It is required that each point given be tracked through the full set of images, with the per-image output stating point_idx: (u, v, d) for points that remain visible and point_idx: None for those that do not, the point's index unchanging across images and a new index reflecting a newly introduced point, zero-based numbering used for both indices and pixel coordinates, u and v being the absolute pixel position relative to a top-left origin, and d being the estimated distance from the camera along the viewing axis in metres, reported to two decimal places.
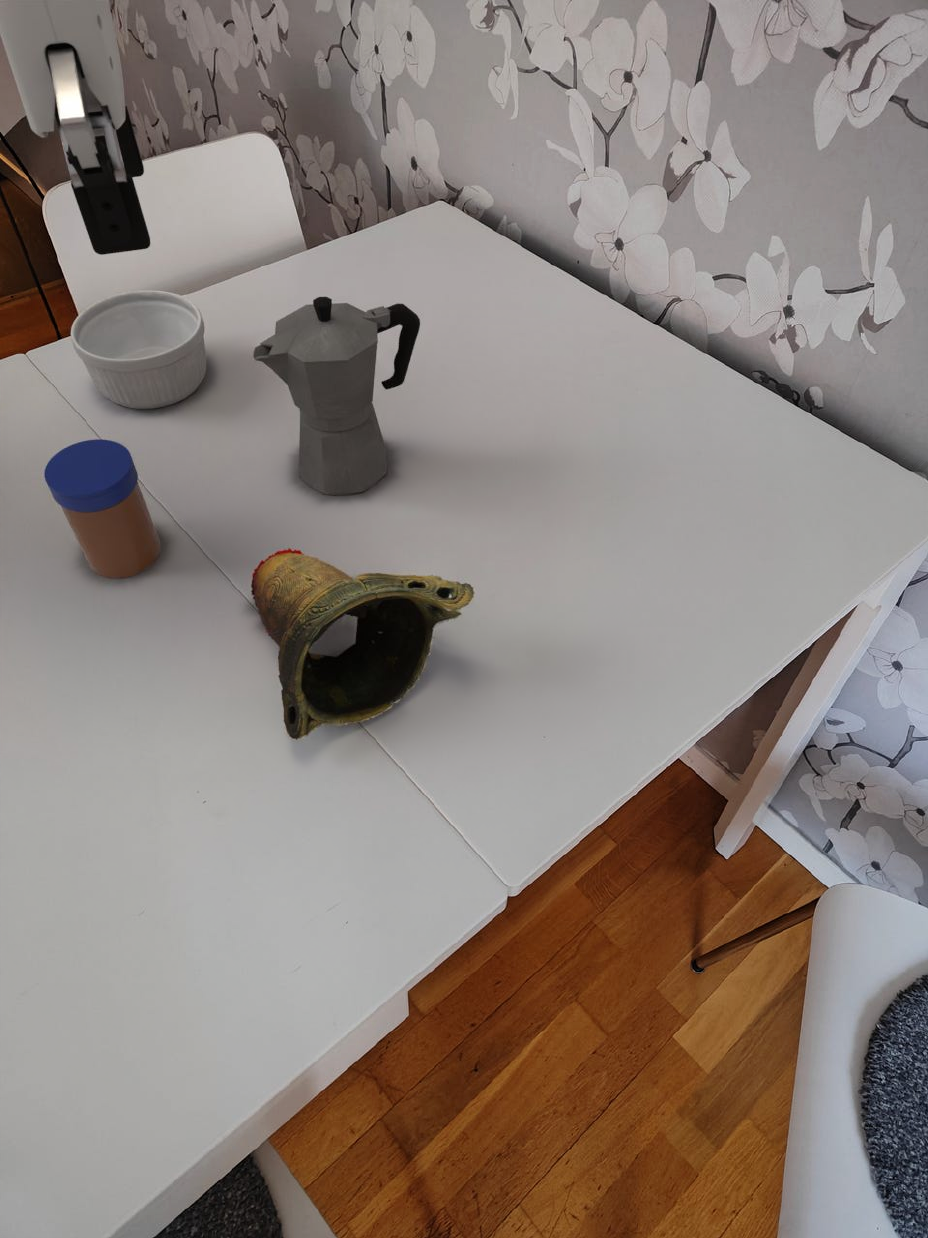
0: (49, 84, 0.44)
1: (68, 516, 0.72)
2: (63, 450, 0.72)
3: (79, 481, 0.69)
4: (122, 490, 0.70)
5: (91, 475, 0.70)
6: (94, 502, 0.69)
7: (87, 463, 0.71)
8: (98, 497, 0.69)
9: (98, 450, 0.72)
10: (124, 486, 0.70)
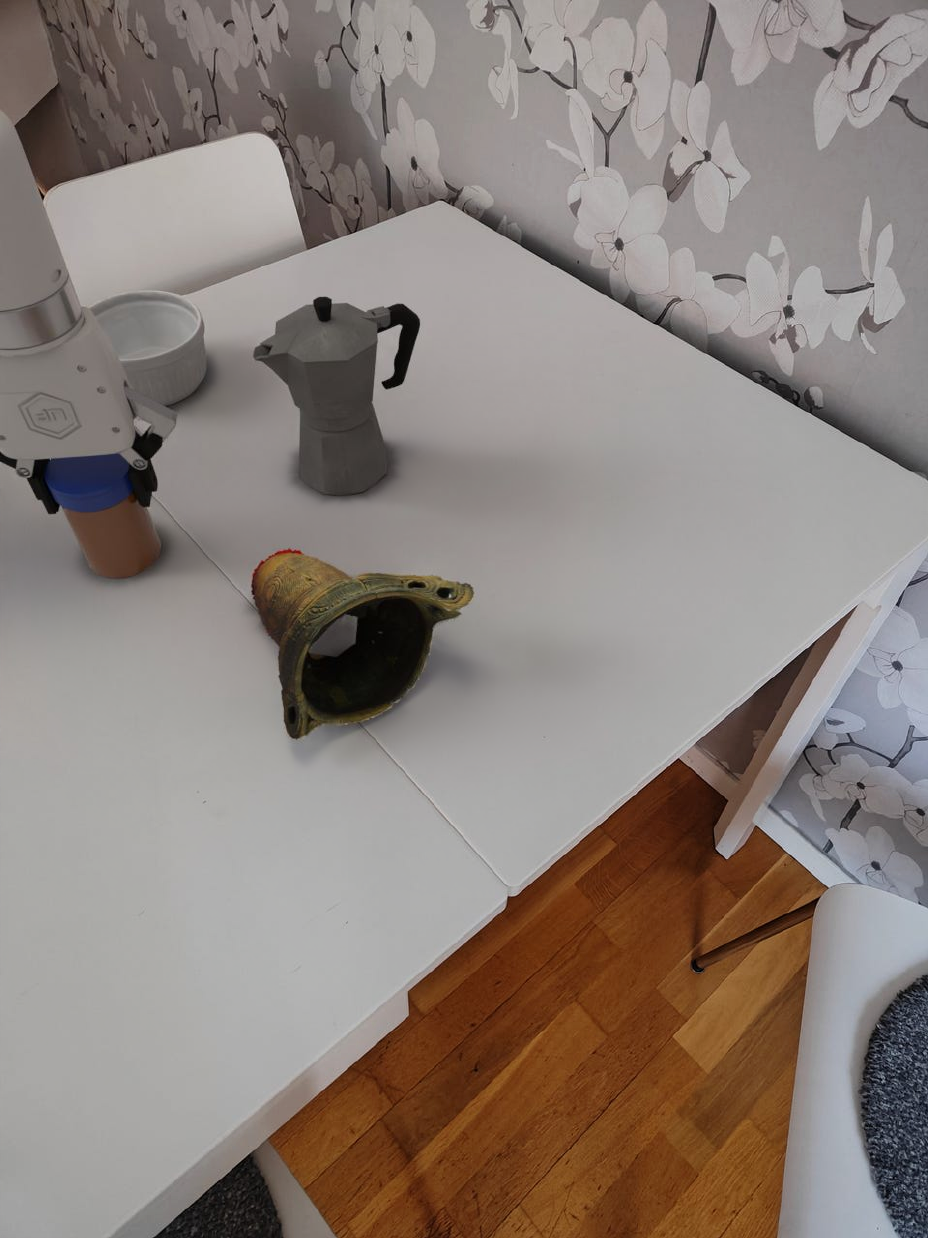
0: (130, 410, 0.66)
1: (68, 516, 0.72)
2: None
3: (79, 481, 0.69)
4: (122, 490, 0.70)
5: (91, 475, 0.70)
6: (94, 502, 0.69)
7: (87, 463, 0.71)
8: (98, 497, 0.69)
9: None
10: (124, 486, 0.70)
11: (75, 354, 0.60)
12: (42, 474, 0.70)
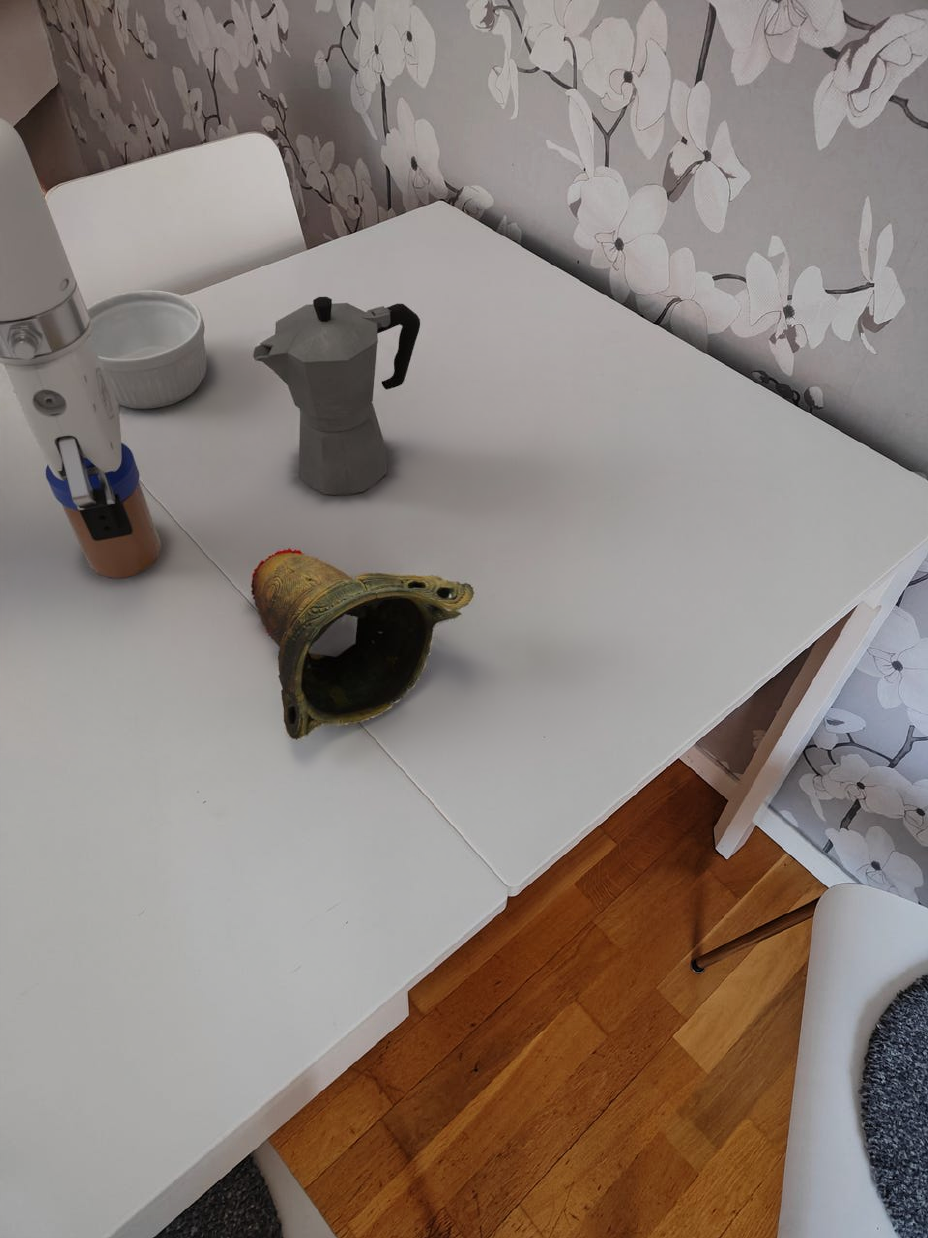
0: None
1: (69, 516, 0.71)
2: (60, 488, 0.69)
3: None
4: None
5: None
6: (135, 462, 0.72)
7: None
8: None
9: None
10: None
11: None
12: None
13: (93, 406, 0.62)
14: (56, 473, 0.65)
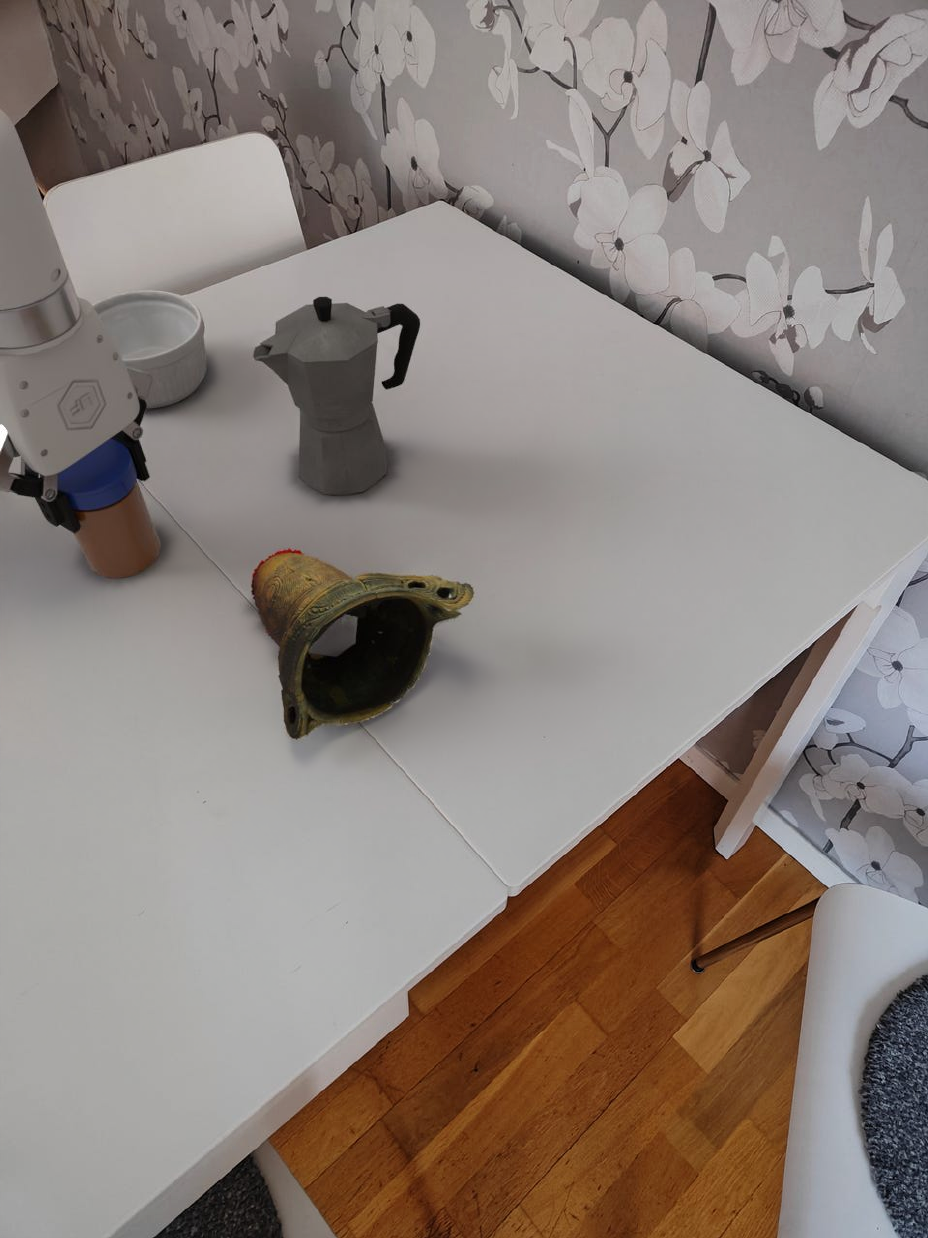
0: None
1: None
2: (91, 489, 0.69)
3: (106, 452, 0.71)
4: None
5: (93, 453, 0.71)
6: None
7: (85, 467, 0.70)
8: None
9: (65, 476, 0.69)
10: None
11: (93, 325, 0.62)
12: (60, 491, 0.68)
13: (23, 411, 0.60)
14: None
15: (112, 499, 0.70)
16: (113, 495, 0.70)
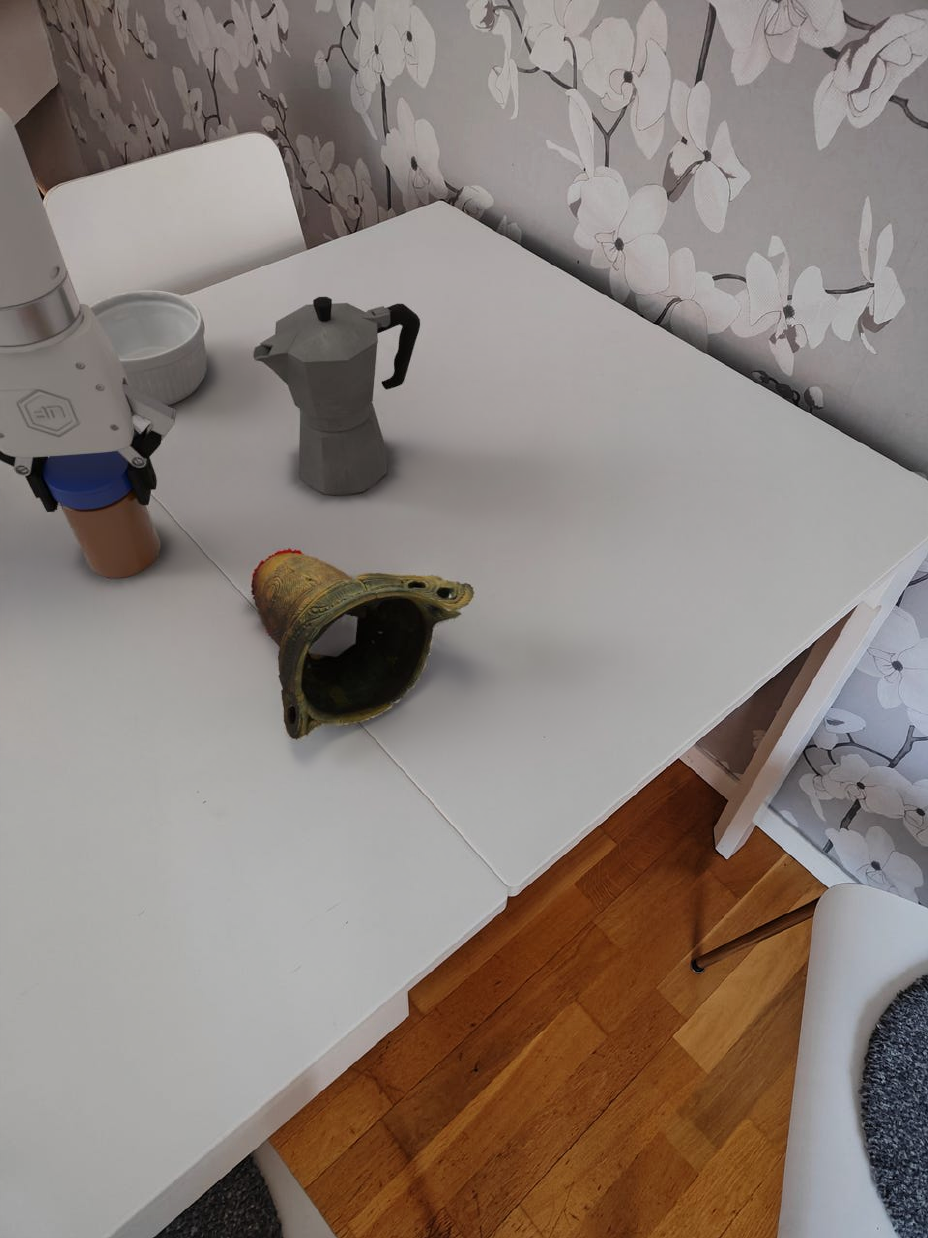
0: (128, 407, 0.66)
1: (68, 516, 0.71)
2: (121, 472, 0.70)
3: None
4: None
5: (78, 455, 0.71)
6: None
7: (88, 465, 0.70)
8: None
9: (83, 479, 0.69)
10: None
11: (74, 351, 0.60)
12: (40, 472, 0.69)
13: None
14: None
15: None
16: None
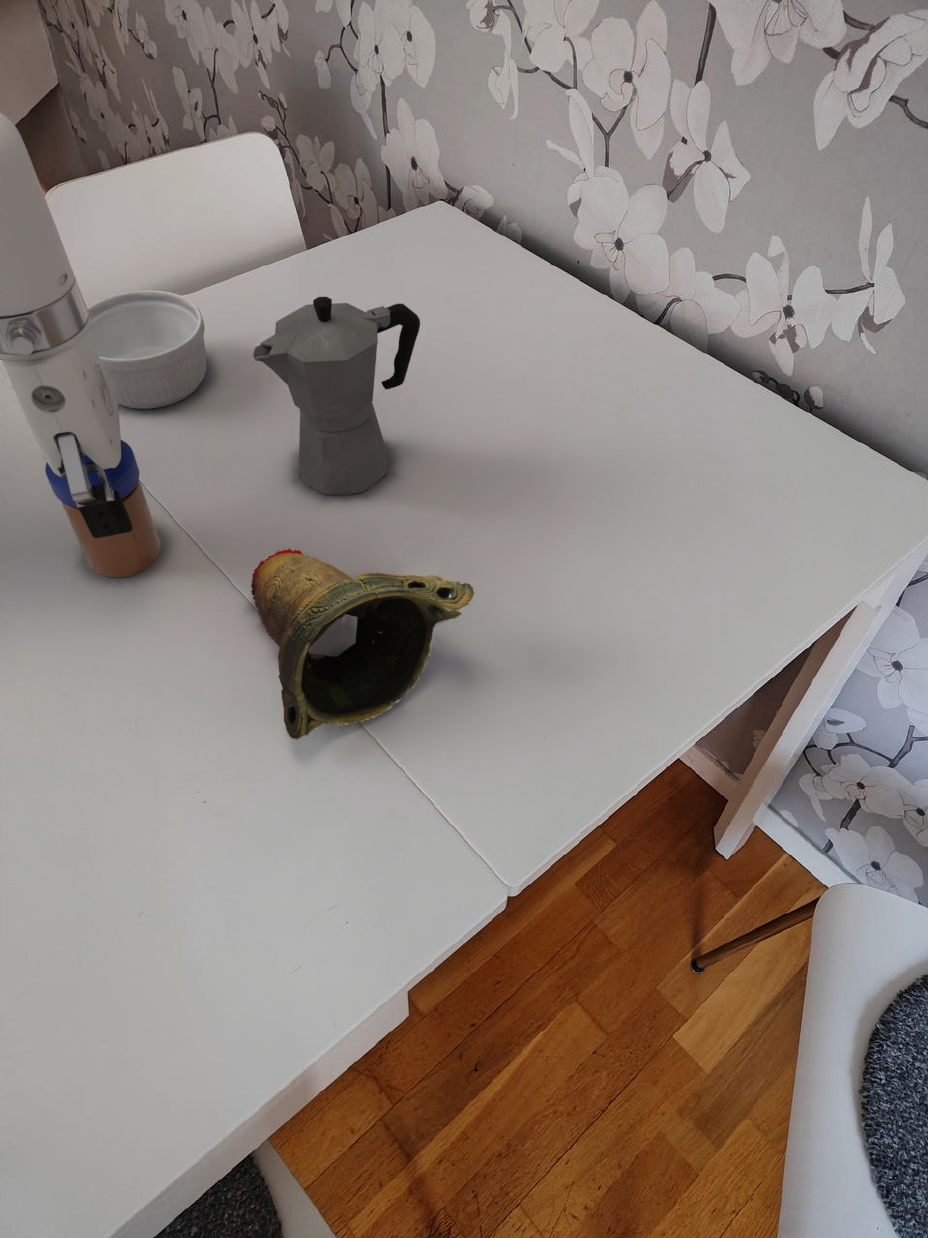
0: None
1: (70, 515, 0.71)
2: None
3: None
4: None
5: None
6: (54, 489, 0.69)
7: None
8: (55, 489, 0.69)
9: None
10: None
11: None
12: None
13: (92, 402, 0.62)
14: (55, 470, 0.64)
15: None
16: None
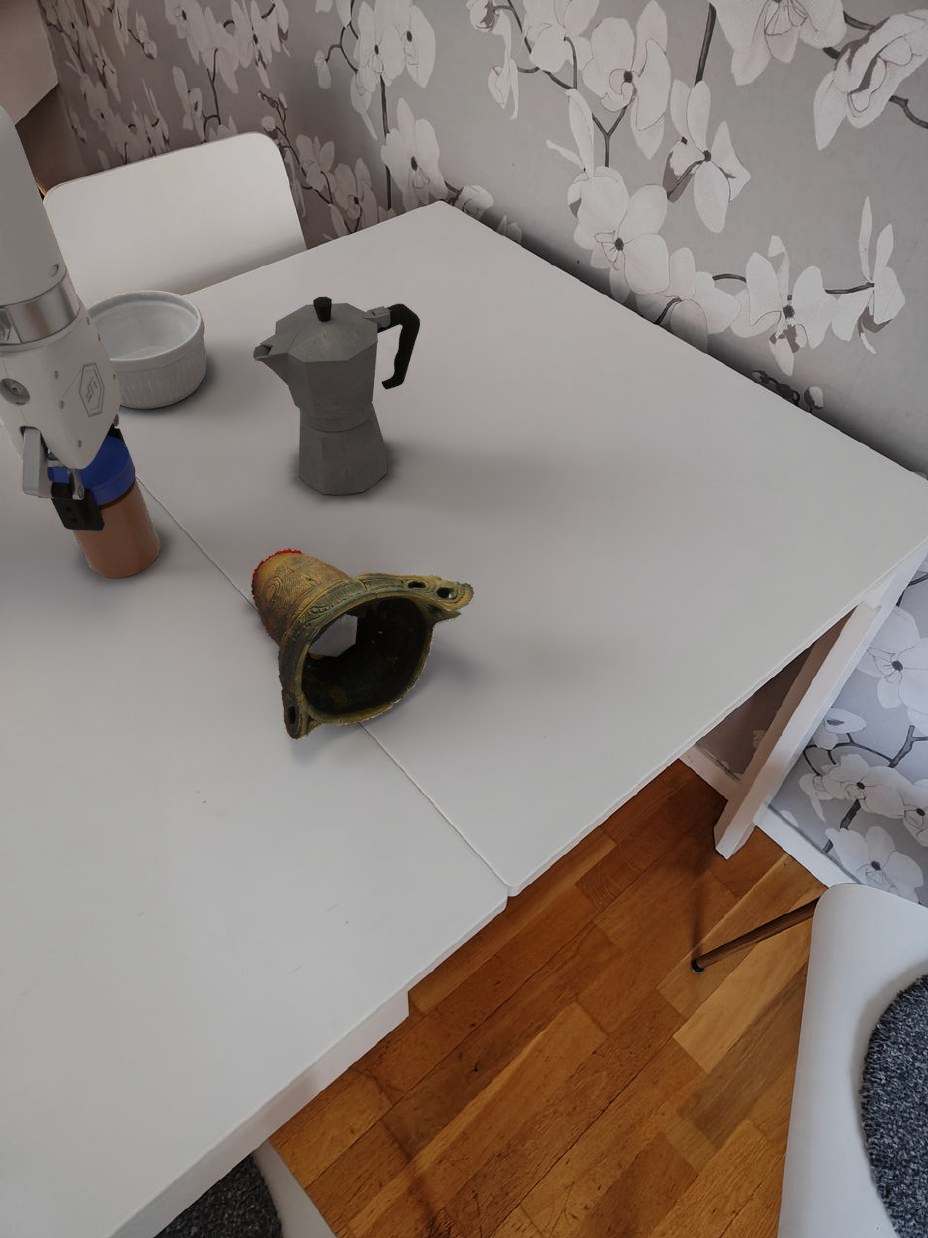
0: None
1: None
2: None
3: (83, 476, 0.69)
4: (127, 478, 0.70)
5: (93, 469, 0.70)
6: (103, 493, 0.69)
7: None
8: (107, 488, 0.69)
9: None
10: (128, 473, 0.70)
11: (81, 308, 0.63)
12: None
13: (60, 403, 0.61)
14: (22, 459, 0.64)
15: None
16: None
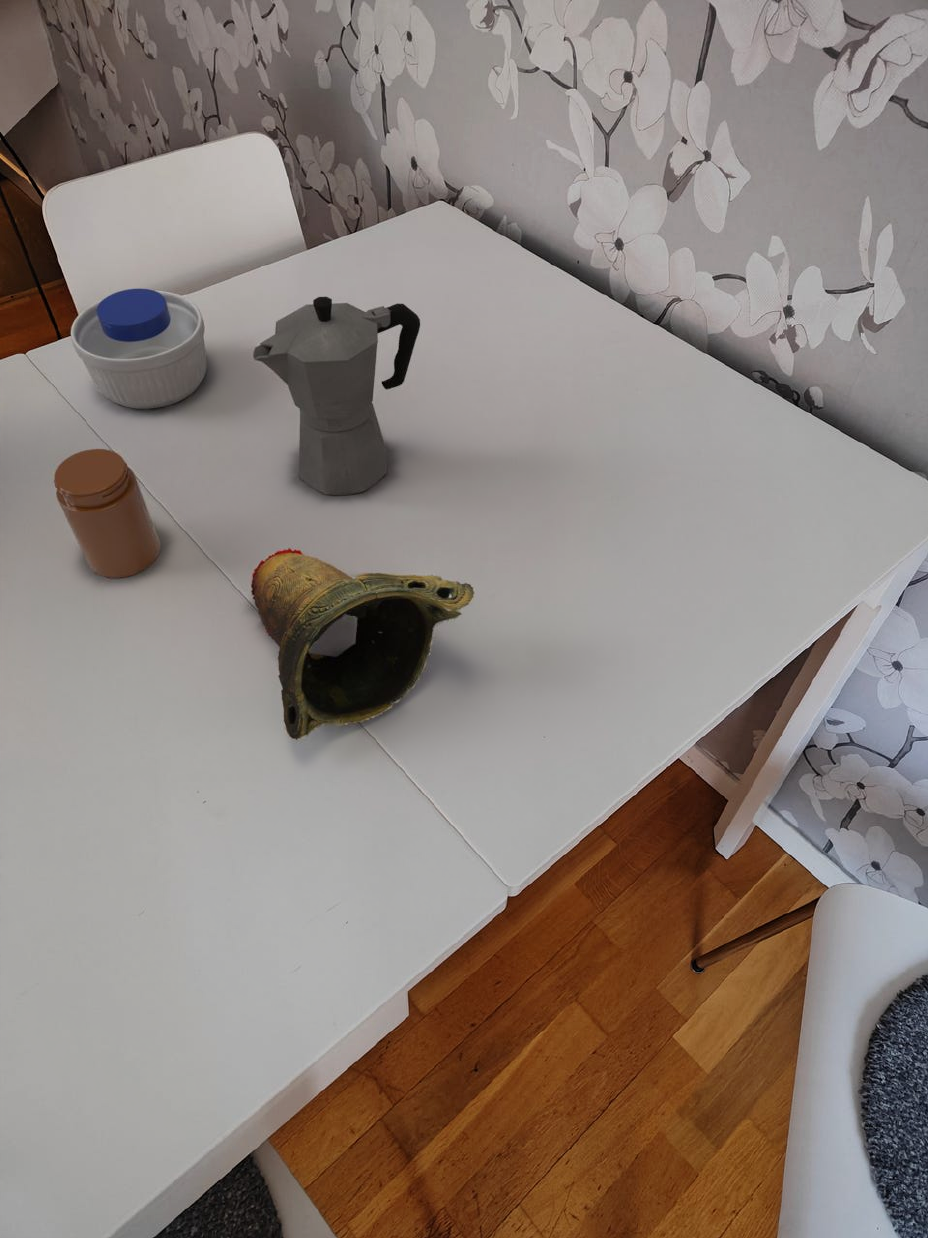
0: None
1: (69, 517, 0.71)
2: (117, 323, 0.86)
3: (150, 302, 0.88)
4: None
5: (141, 300, 0.89)
6: None
7: (128, 307, 0.88)
8: None
9: (111, 309, 0.87)
10: None
11: None
12: None
13: None
14: None
15: (133, 338, 0.87)
16: (134, 335, 0.87)
